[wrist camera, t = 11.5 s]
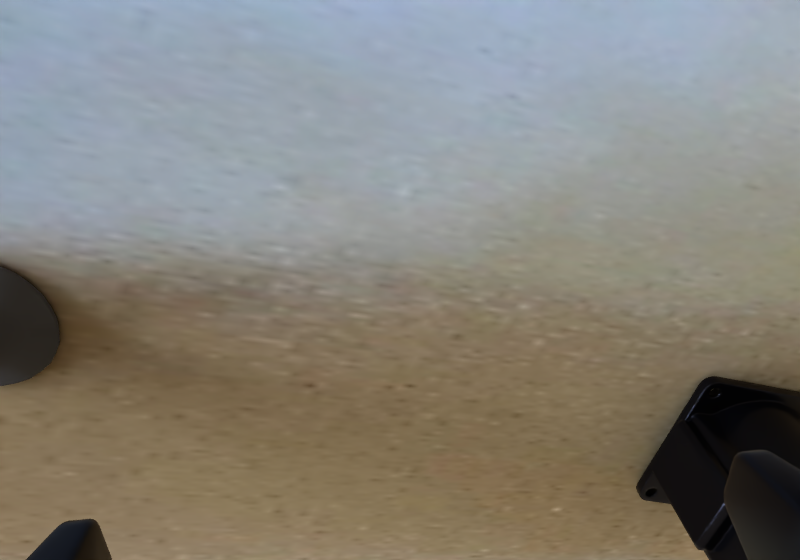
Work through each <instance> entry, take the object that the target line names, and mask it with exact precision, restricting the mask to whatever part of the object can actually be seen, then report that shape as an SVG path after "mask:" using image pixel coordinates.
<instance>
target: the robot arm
mask: <svg viewBox="0 0 800 560" xmlns="http://www.w3.org/2000/svg"><path fill="white" fill-rule="evenodd" d="M714 388H715V389H714ZM712 389H714V390H712ZM711 390H712V391H711ZM636 489H637V491H638V493H639V495H640V497H641V498H642V499H643V500H646V501H653V502H661V503H668V504H671V505H672V507H673V508H674V510H675V512H676V513H677V515H678V517H679V519H680V520H681V522H682V524H683V526H684V527H685V529H686V531H687V533H688V534H689V536H690V538H691V540H692V541H693V543H694V545H695V547H696V548H697V549H698V550H704V552H705V554H706V555H707V557H708V559H709V560H800V392H796V391H791V390H785V389H780V388H775V387H769V386H764V385H759V384H754V383H748V382H743V381H738V380H732V379H727V378H722V377H716V376H712V377H708V378H706V379H704V380H703V381H702V382H701V383H700V384H699V385H698V387H697V389H696V390H695V392H694V393H693V395H692V397H691V398H690V400H689V402H688V403H687V405H686V406H685V408H684V410H683V411H682V413H681V414H680V416H679V418H678V419H677V421H676V422H675V424H674V426H673V427H672V429H671V430H670V432H669V434H668V435H667V437H666V439H665V440H664V442H663V443H662V445H661V447H660V448H659V450H658V451H657V453H656V455H655V456H654V458H653V459H652V461H651V463H650V464H649V466H648V467H647V469H646V471H645V472H644V474H643V476H642V477H641V479H640V480H639V482H638V484H637V486H636ZM26 560H112V558H111V555H110V552H109V550H108V547H107V544H106V542H105V539H104V537H103V534H102V531H101V529H100V526H99V524H98V522H97V521H95V520H94V519H83V520H73V521H66V522H64V523H62V524H61V525H59V526H58V527H57V528H56V529H55V530H54V531H53V532H52V533H51V534H50V535H49V536H48V537H47V538H46V539H45V540H44V541H43V542H42V543H41V545H40V546H39V547H38V548H37V549H36V550H35V551H34V552H33V553H32V554H31V555H30V556H29V557H28V558H27V559H26Z"/></svg>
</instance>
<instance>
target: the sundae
mask: <svg viewBox="0 0 800 560" xmlns="http://www.w3.org/2000/svg"><path fill="white" fill-rule="evenodd" d="M59 343H60V339H59V326H58V321H57V317H56V315H55V313H54V312H53V310H52V308H51V306H50V304H49V303H48V302H47V300H46V299H45V297H44V296H43V295H42V293H40V292H39V291H38V290H37V289H36V288H35V287H34V286H33V285H31V284H30V283H29V282H28V281H26V280H25V279H23V278H22V277H21V276H19V275H18V274H16V273H14V272H12V271H10V270H8V269H5V268H3V267H1V266H0V386H4V385H9V384H14V383H18V382H21V381H24V380H27V379H30V378H32V377H33V376H35V375H36V374H38V373H39V372H41V371H42V370H43V369H44V368H45V367H47V366H48V365H49V364H50V363H51V361H52V359H53V357H54V356H55V354H56V351H57V348H58V345H59Z"/></svg>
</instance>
